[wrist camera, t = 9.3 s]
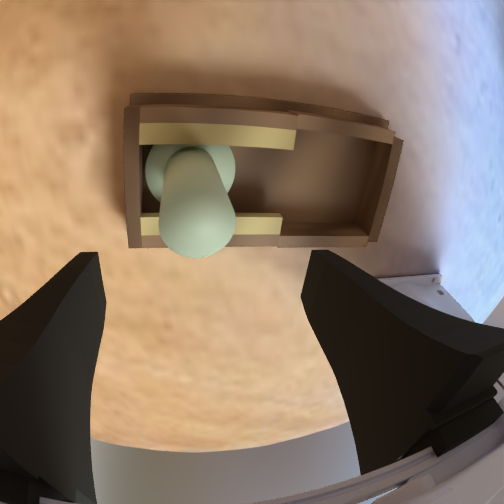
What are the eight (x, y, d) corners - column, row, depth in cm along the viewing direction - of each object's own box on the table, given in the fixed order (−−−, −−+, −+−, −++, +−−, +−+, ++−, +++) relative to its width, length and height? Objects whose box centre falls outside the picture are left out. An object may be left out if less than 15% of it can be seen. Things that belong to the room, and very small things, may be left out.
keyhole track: (384, 119, 19) (406, 126, 17) (356, 235, 23) (373, 252, 21) (132, 93, 15) (124, 96, 13) (133, 236, 20) (129, 257, 18)
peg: (236, 126, 17) (273, 159, 11) (229, 207, 19) (257, 279, 13) (146, 124, 16) (125, 157, 9) (147, 207, 18) (134, 283, 12)
